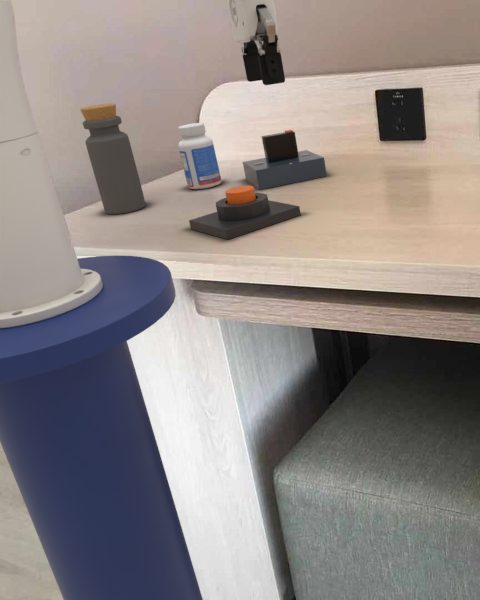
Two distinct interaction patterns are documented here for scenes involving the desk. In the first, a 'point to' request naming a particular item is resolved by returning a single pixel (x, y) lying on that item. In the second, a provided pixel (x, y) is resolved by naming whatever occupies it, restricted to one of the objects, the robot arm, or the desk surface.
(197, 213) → the desk surface
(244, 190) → the switch
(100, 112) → the bottle
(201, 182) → the pill bottle
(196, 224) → the switch base
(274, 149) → the black toggle lever
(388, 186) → the desk surface
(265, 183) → the panel
